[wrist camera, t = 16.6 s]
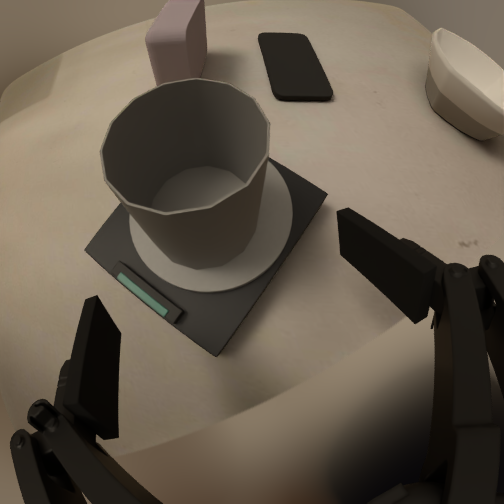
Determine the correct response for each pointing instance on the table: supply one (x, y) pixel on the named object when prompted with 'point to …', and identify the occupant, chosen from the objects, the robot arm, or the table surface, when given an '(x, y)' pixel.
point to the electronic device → (178, 41)
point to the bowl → (465, 86)
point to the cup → (190, 168)
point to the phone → (293, 67)
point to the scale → (216, 278)
